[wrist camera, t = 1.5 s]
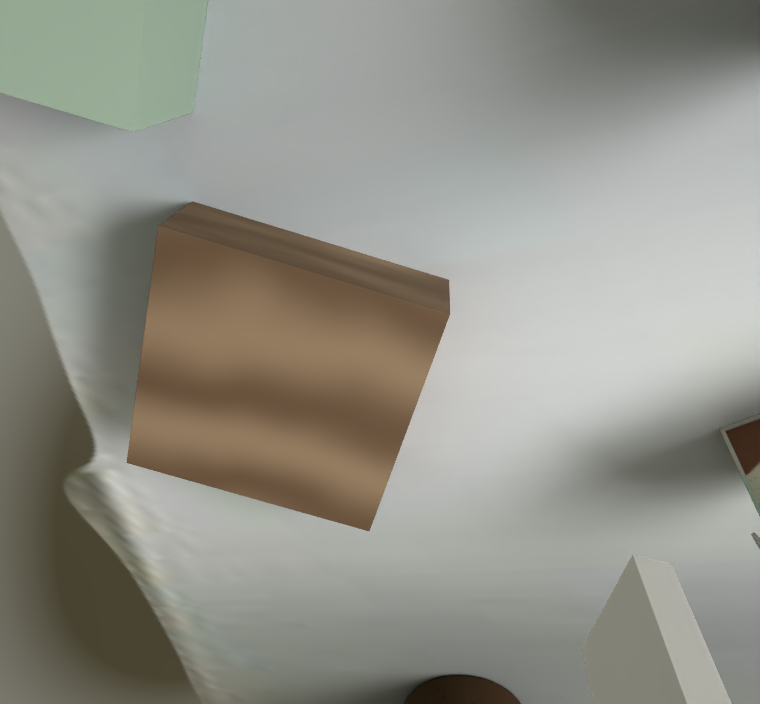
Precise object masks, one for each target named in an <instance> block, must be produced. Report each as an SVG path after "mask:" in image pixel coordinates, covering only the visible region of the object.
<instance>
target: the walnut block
mask: <svg viewBox="0 0 760 704" xmlns="http://www.w3.org/2000/svg"><path fill="white" fill-rule="evenodd" d="M449 315H450V297H449V280H447V279H444V278H441V277H437V276H434V275H431V274H428V273H424V272H421V271H418V270H415V269H411V268H408V267H405V266H402V265H398V264H395V263H392V262H388V261H385V260H382V259H379V258H375V257H372V256H369V255H366V254H362V253H359V252H356V251H352V250H349V249H346V248H343V247H339V246H336V245H333V244H330V243H326V242H323V241H320V240H317V239H313V238H310V237H307V236H303V235H300V234H297V233H294V232H290V231H287V230H284V229H281V228H277V227H274V226H271V225H268V224H264V223H261V222H258V221H254V220H251V219H248V218H245V217H241V216H238V215H235V214H232V213H228V212H225V211H222V210H218V209H215V208H212V207H209V206H205V205H202V204H199V203H196V202H192V203H190V204H189V205H187V206H186V207H184V208H183V209H182V210H180V211H179V212H177V213H176V214H174V215H173V216H171V217H170V218H169V219H167V220H166V221H164V222H163V223H161V224H160V225H159V226H158V232H157V240H156V247H155V255H154V262H153V270H152V277H151V285H150V292H149V300H148V307H147V315H146V322H145V330H144V337H143V345H142V352H141V360H140V367H139V375H138V382H137V390H136V397H135V405H134V412H133V420H132V427H131V435H130V442H129V450H128V457H127V463H129V464H133V465H136V466H140V467H143V468H147V469H150V470H154V471H158V472H161V473H165V474H168V475H172V476H175V477H179V478H182V479H186V480H189V481H193V482H197V483H200V484H204V485H207V486H211V487H214V488H218V489H221V490H225V491H228V492H232V493H235V494H239V495H243V496H246V497H250V498H253V499H257V500H260V501H264V502H267V503H271V504H274V505H278V506H281V507H285V508H289V509H292V510H296V511H299V512H303V513H306V514H310V515H313V516H317V517H320V518H324V519H328V520H331V521H335V522H338V523H342V524H345V525H349V526H352V527H356V528H359V529H363V530H366V531H370V528H371V525H372V523H373V520H374V517H375V515H376V512H377V509H378V506H379V504H380V501H381V498H382V496H383V493H384V490H385V488H386V485H387V482H388V480H389V477H390V474H391V471H392V469H393V466H394V463H395V461H396V458H397V455H398V453H399V450H400V447H401V445H402V442H403V439H404V436H405V434H406V431H407V428H408V426H409V423H410V420H411V418H412V415H413V412H414V410H415V407H416V404H417V402H418V399H419V396H420V393H421V391H422V388H423V385H424V383H425V380H426V377H427V375H428V372H429V369H430V367H431V364H432V361H433V358H434V356H435V353H436V350H437V348H438V345H439V342H440V340H441V337H442V334H443V332H444V329H445V326H446V323H447V321H448V318H449Z"/></svg>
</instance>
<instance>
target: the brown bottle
mask: <svg viewBox="0 0 760 704" xmlns="http://www.w3.org/2000/svg"><path fill="white" fill-rule="evenodd" d="M405 704H521V703H520V702H519V700H518V699H517V698H516V697H515V696H514V695H513V694H512V693H511V692H510V691H508V690H507V689H505V688H504V687H502V686H500V685H499V684H496V683H494V682H492V681H489V680H486V679H482V678H478V677H471V676H449V677H443V678H438V679H435V680H432V681H429V682H427V683H425V684H423V685H421V686H420V687H418V688H417V689H416V690H414V691H413V692H412V693H411V694H410V695H409V697H408V698H407V700H406V701H405Z"/></svg>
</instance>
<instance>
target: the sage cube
mask: <svg viewBox="0 0 760 704" xmlns="http://www.w3.org/2000/svg"><path fill="white" fill-rule="evenodd" d="M207 5H208V0H0V93H3V94H6V95H9V96H13V97H16V98H20V99H23V100H26V101H30V102H33V103H36V104H40V105H43V106H47V107H50V108H53V109H57V110H60V111H63V112H67V113H70V114H74V115H77V116H80V117H84V118H87V119H90V120H94V121H97V122H101V123H104V124H107V125H111V126H114V127H117V128H121V129H124V130H128V131H131V132H136V131H139V130H141V129H144V128H147V127H150V126H153V125H156V124H159V123H162V122H165V121H168V120H171V119H174V118H177V117H180V116H183V115H186V114H189V113H192V112H193V110H194V103H195V95H196V88H197V80H198V73H199V65H200V58H201V50H202V43H203V35H204V28H205V20H206V13H207Z"/></svg>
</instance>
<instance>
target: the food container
mask: <svg viewBox="0 0 760 704" xmlns="http://www.w3.org/2000/svg"><path fill="white" fill-rule="evenodd" d="M719 430H720V432H721V434H722V436H723V438H724V440H725V442H726V445H727V447H728V449H729V451H730V453H731V455H732V458H733V460H734V462H735V464H736V466H737V468H738V470H739V473H740V475H741V477H742V479H743V481H744V483H745V486H746V488H747V490H748V492H749V494H750V496H751V498H752V501H753V503H754V505H755V507H756V509H757V511H758V514H759V516H760V414H758V415H755V416H753V417H750V418H747V419H744V420H742V421H739V422H736V423H733V424H730V425H728V426H725V427H722V428H719ZM751 535H752V537H753V538H754V540H755V542H756V544H757V546H758V547H759V548H760V538H759V537H758V536H757V535H756V534H755V533H752V534H751Z"/></svg>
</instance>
